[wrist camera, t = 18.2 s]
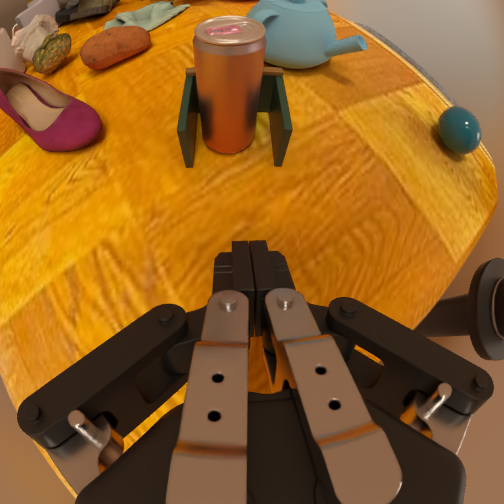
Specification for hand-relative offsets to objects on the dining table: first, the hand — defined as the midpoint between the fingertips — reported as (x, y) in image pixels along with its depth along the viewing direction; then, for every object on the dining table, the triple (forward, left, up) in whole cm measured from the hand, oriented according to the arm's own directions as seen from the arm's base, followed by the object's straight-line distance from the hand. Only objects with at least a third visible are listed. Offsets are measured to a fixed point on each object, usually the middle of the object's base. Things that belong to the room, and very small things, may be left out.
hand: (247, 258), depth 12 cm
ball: (-16, -38, -14) cm, 43 cm away
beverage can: (+11, -14, -14) cm, 23 cm away
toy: (+69, -33, -7) cm, 77 cm away
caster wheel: (+80, -28, -10) cm, 85 cm away
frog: (+64, -24, -10) cm, 69 cm away
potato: (+40, -20, -14) cm, 47 cm away
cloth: (+50, -35, -14) cm, 62 cm away
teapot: (+13, -36, -14) cm, 41 cm away
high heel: (+37, -3, -14) cm, 40 cm away
